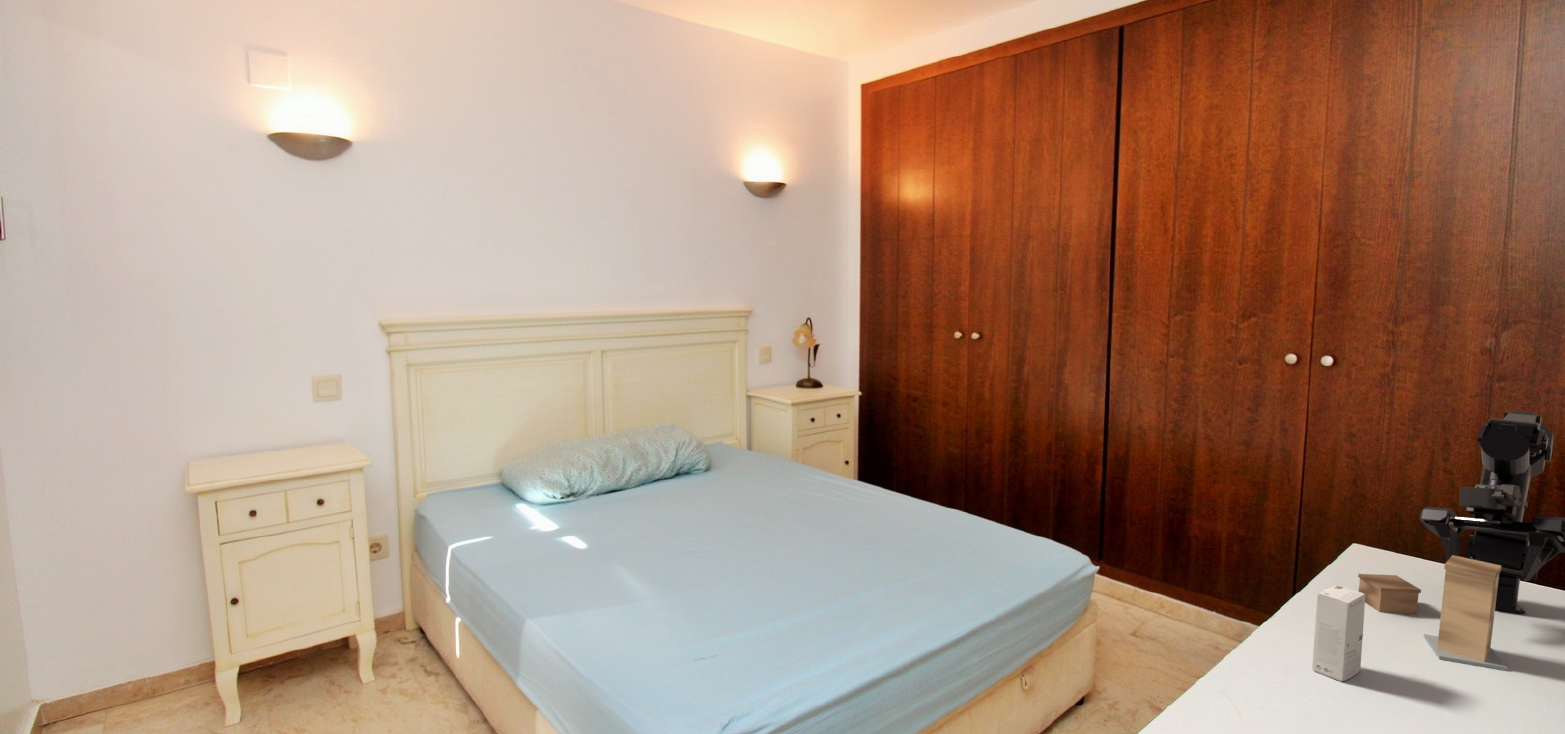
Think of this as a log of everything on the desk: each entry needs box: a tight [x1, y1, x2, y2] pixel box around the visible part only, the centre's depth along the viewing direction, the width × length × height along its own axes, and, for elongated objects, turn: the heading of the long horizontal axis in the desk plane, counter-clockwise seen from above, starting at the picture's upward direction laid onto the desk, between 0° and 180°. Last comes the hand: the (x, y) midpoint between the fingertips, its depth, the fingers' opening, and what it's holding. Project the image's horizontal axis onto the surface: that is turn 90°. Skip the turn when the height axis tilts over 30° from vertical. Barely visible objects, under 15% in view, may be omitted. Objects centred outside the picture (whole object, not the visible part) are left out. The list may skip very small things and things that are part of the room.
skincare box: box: [1311, 585, 1366, 682], centre depth 114 cm, size 6×4×12 cm
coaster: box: [1423, 633, 1508, 672], centre depth 120 cm, size 8×8×1 cm
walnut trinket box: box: [1357, 573, 1422, 615], centre depth 137 cm, size 6×6×5 cm
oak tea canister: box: [1437, 555, 1501, 662], centre depth 119 cm, size 6×6×14 cm
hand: (1487, 574), depth 123 cm, fingers open, 9 cm apart
